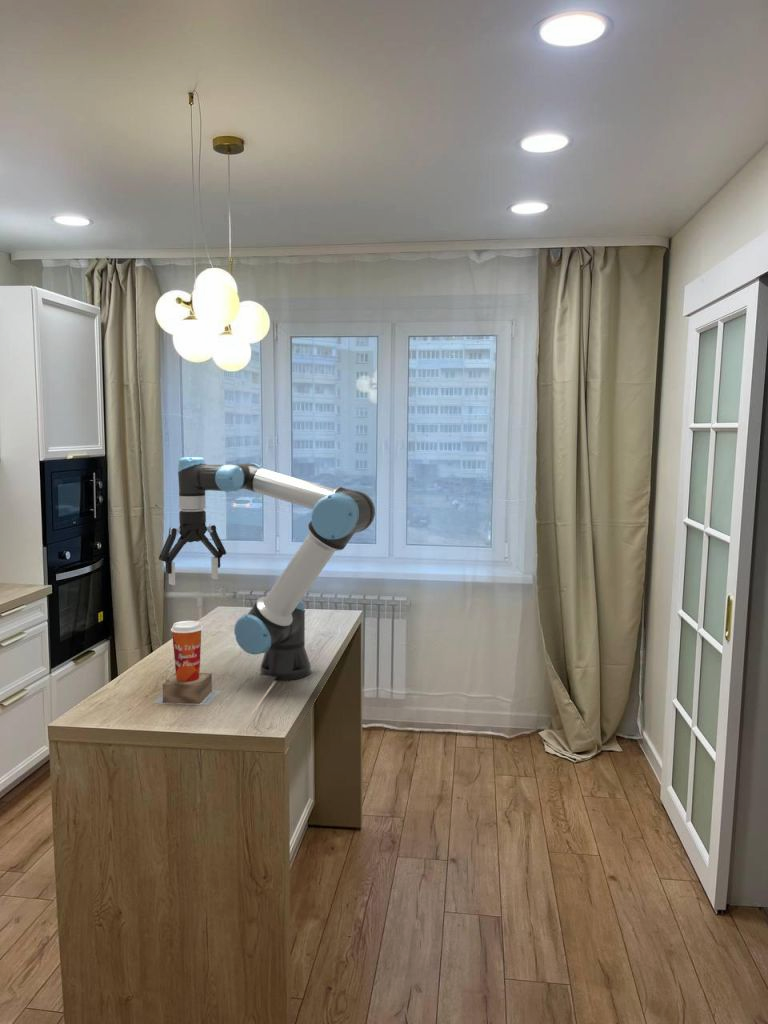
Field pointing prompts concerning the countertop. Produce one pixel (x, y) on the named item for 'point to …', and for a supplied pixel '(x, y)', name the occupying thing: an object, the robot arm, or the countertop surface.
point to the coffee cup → (187, 649)
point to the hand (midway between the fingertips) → (193, 581)
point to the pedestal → (187, 689)
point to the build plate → (204, 702)
